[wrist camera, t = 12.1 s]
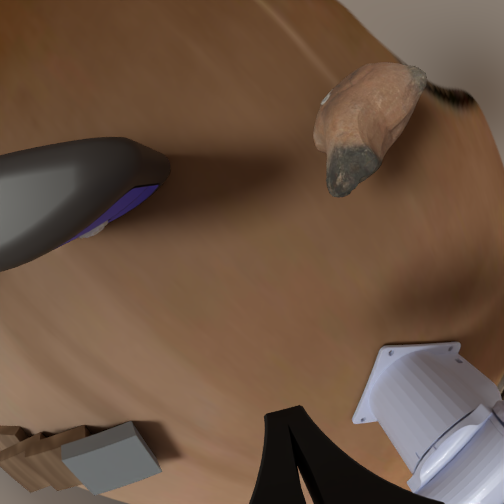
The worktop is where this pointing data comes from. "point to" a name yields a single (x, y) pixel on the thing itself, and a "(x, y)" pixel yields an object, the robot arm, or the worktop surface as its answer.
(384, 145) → the oil lamp
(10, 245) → the dark grey curved shell
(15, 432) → the domino
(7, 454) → the domino
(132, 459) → the slate domino
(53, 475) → the domino
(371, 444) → the worktop surface
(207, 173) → the worktop surface
